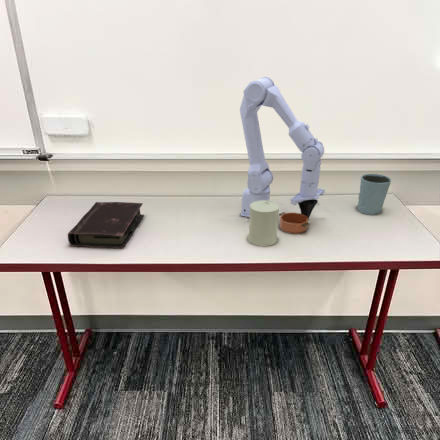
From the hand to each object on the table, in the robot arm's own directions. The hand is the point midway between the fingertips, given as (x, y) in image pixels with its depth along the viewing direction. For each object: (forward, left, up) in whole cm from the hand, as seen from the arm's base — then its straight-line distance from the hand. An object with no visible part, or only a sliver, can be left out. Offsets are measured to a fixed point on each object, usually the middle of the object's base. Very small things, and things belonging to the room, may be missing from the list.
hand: (305, 219), depth 146 cm
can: (-9, -18, -2) cm, 20 cm away
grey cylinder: (+19, +21, -2) cm, 28 cm away
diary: (-58, -33, -2) cm, 67 cm away
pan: (-3, -5, -1) cm, 6 cm away
